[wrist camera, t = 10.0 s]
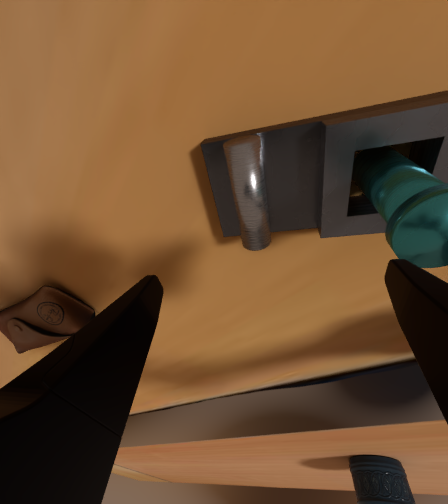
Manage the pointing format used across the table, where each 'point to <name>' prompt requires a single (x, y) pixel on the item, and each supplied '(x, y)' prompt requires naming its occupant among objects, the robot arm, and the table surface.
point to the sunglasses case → (44, 319)
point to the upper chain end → (371, 136)
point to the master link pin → (406, 204)
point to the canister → (380, 480)
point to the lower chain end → (277, 175)
